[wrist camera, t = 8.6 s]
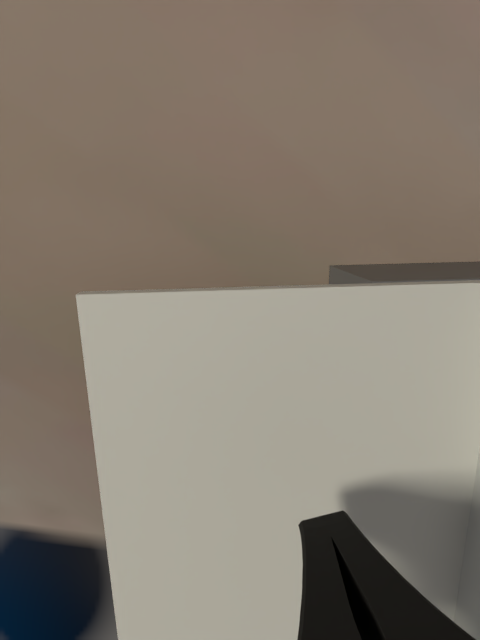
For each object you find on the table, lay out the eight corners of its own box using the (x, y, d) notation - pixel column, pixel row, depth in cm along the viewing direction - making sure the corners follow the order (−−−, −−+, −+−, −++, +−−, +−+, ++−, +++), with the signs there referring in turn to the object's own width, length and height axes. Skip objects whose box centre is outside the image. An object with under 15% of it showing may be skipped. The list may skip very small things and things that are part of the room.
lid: (528, 278, 13) (593, 290, 10) (472, 620, 16) (513, 681, 14) (81, 291, 12) (51, 307, 10) (123, 649, 15) (109, 720, 13)
